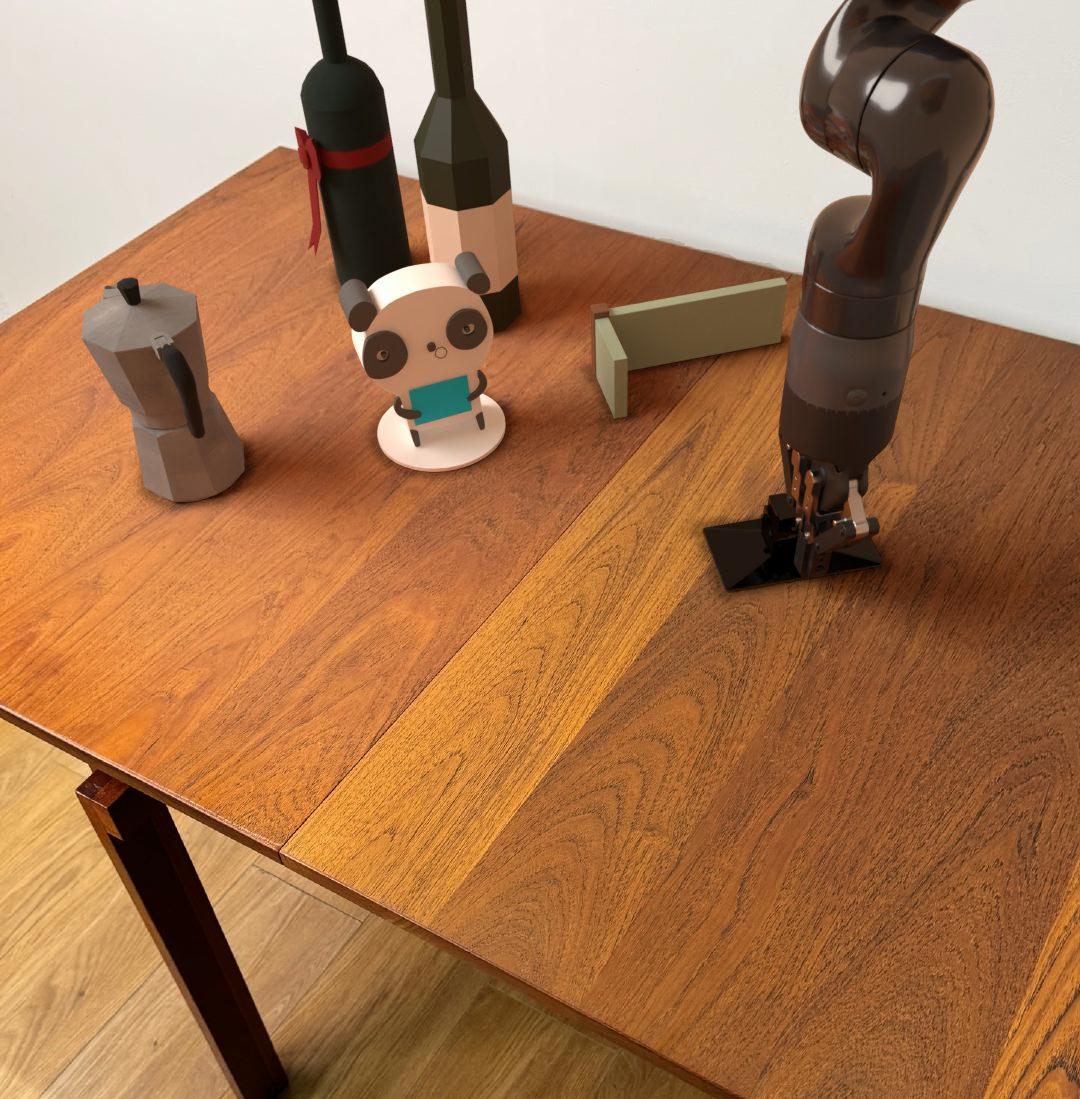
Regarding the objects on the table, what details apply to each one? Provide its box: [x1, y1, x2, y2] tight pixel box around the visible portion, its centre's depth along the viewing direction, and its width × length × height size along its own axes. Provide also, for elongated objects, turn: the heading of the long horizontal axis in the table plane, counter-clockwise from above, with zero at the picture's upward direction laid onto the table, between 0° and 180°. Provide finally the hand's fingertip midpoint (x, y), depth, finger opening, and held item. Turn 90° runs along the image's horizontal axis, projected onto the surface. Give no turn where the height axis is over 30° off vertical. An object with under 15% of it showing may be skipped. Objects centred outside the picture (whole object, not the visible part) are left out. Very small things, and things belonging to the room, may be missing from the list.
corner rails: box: [589, 276, 788, 419], centre depth 103 cm, size 18×8×7 cm, turn 103°
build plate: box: [702, 492, 883, 593], centre depth 89 cm, size 12×7×5 cm, turn 100°
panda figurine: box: [338, 251, 507, 473], centre depth 97 cm, size 12×11×15 cm
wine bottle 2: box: [413, 0, 522, 334], centre depth 102 cm, size 8×8×30 cm
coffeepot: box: [80, 276, 246, 503], centre depth 93 cm, size 15×9×18 cm, turn 33°
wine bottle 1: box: [294, 0, 414, 290], centre depth 107 cm, size 8×10×30 cm
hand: (810, 569), depth 87 cm, fingers closed
